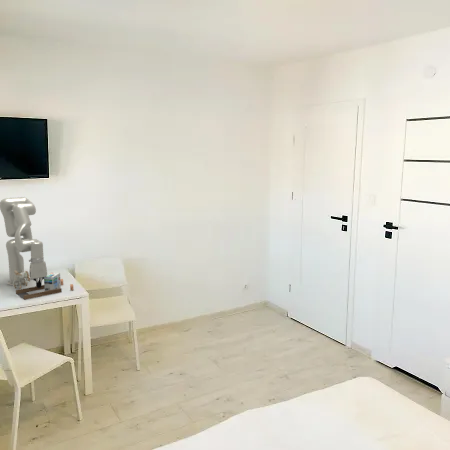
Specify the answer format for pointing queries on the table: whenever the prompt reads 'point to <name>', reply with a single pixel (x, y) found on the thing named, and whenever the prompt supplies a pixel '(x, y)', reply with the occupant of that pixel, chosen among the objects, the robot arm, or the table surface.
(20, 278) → the unicorn figurine
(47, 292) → the guide channel
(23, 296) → the mat
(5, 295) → the table surface
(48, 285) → the light bulb box
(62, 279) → the posts
